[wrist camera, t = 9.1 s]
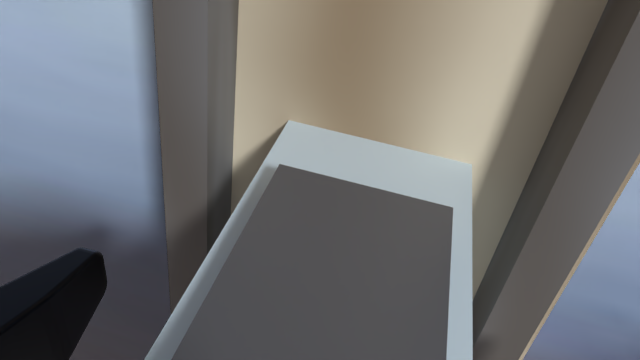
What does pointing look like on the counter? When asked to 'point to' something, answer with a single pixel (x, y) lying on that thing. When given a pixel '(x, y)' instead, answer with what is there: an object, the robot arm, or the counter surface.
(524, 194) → the rail
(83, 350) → the counter surface
